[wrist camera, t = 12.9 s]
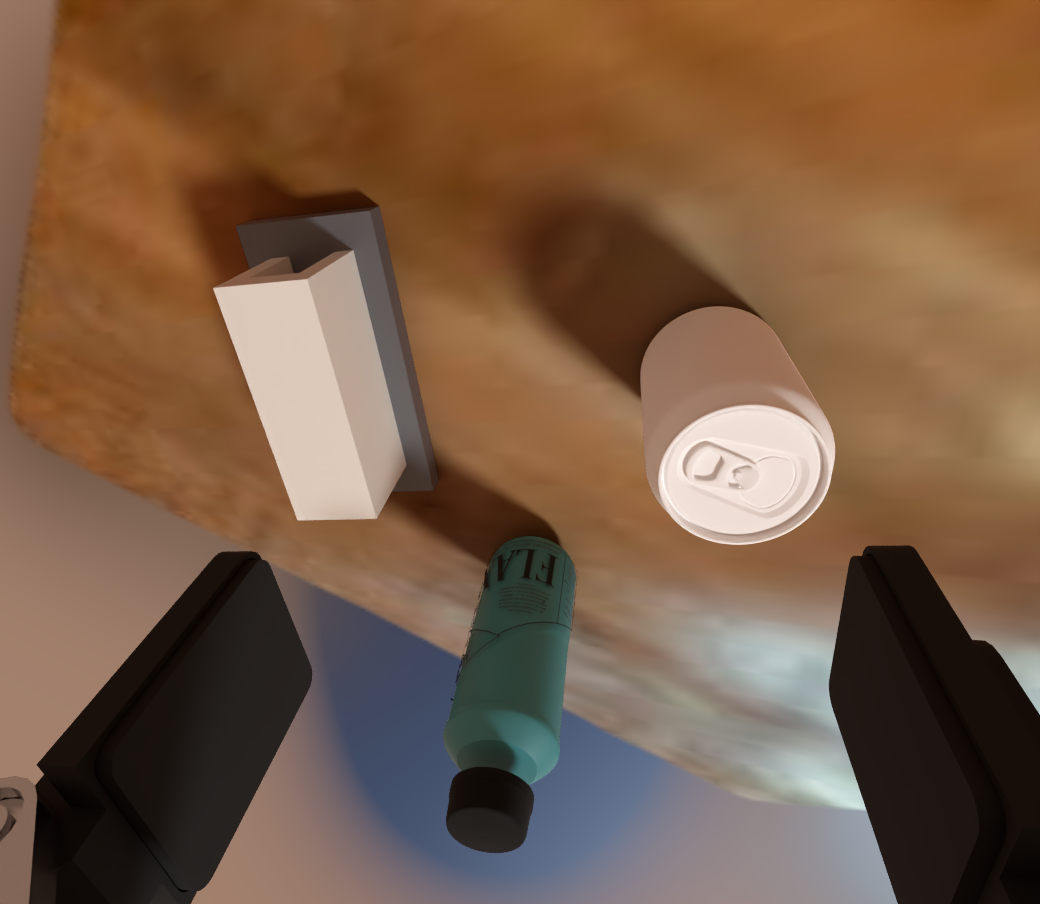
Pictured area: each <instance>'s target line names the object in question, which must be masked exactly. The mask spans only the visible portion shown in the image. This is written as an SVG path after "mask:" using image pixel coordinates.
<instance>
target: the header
mask: <svg viewBox="0 0 1040 904" xmlns="http://www.w3.org/2000/svg"><path fill="white" fill-rule="evenodd" d="M236 229H237V232H238V235H239V238H240V241H241V244H242V247H243V250H244V253H245V256H246V259H247V262H248V265H249V268H250V269H251V268H253V267H255V266H257V265H259V264H261V263H263V262H265V261H267V260H269V259H271V258H280V257H289V259H290V262H291V265H292V269H293V272H294V273H300V272H302V271H304V270H305V269H307V268H309V267H310V266H312V265H314V264H315V263H317V262H319V261H320V260H322V259H324V258H325V257H327V256H329V255H330V254H332V253H334V252H338V251H348V250H353V251H354V255H355V259H356V263H357V267H358V271H359V275H360V279H361V283H362V287H363V291H364V295H365V299H366V304H367V308H368V312H369V316H370V320H371V324H372V328H373V332H374V336H375V340H376V344H377V348H378V352H379V356H380V360H381V364H382V368H383V372H384V376H385V380H386V384H387V388H388V392H389V396H390V400H391V404H392V408H393V412H394V416H395V420H396V424H397V429H398V433H399V437H400V441H401V445H402V449H403V453H404V457H405V461H406V467H405V469H404V471H403V472H402V474H401V476H400V478H399V480H398V481H397V483H396V485H395V487H394V488H393V490H392V492H403V491H434V488H435V486H436V484H437V482H438V480H439V476H438V472H437V467H436V463H435V458H434V454H433V449H432V445H431V440H430V435H429V431H428V426H427V422H426V417H425V413H424V408H423V404H422V399H421V394H420V390H419V385H418V381H417V376H416V372H415V367H414V363H413V358H412V353H411V349H410V344H409V340H408V335H407V331H406V326H405V322H404V317H403V313H402V308H401V303H400V299H399V294H398V290H397V285H396V281H395V276H394V272H393V267H392V262H391V258H390V253H389V249H388V244H387V240H386V235H385V231H384V226H383V221H382V217H381V212H380V208H379V206H375V207H366V208H357V209H349V210H340V211H331V212H322V213H314V214H305V215H296V216H287V217H278V218H270V219H261V220H252V221H247V222H245V223H242V224H239V225H237V226H236Z"/></svg>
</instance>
